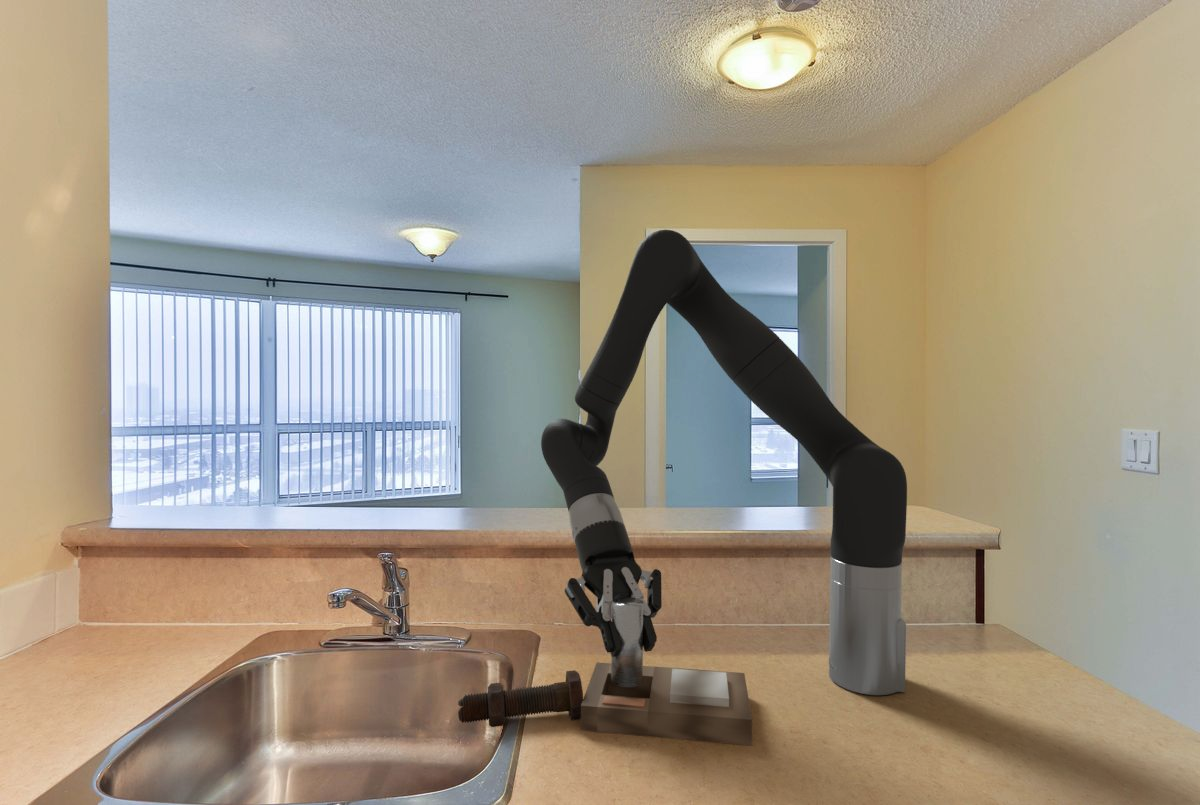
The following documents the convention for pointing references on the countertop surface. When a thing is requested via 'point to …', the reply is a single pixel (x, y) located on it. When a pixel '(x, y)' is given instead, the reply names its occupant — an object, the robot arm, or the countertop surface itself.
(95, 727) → the countertop surface
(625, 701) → the recessed board
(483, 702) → the bolt
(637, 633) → the peg
